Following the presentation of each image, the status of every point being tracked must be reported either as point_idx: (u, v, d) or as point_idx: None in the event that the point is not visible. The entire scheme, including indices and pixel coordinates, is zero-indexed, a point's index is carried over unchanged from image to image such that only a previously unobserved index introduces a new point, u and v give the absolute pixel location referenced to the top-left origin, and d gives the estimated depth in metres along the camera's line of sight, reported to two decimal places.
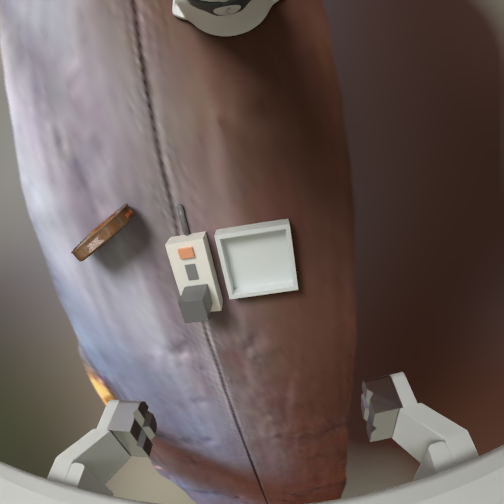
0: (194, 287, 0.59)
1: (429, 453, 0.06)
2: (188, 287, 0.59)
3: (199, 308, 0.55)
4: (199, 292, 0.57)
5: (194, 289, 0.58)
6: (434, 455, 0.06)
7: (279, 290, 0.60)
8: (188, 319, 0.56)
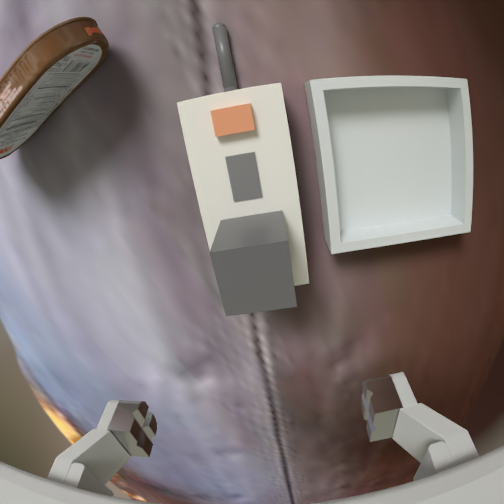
0: (249, 218, 0.22)
1: (429, 453, 0.06)
2: (232, 220, 0.23)
3: (274, 269, 0.19)
4: (269, 226, 0.20)
5: (251, 222, 0.22)
6: (434, 455, 0.06)
7: (439, 232, 0.24)
8: (237, 305, 0.20)
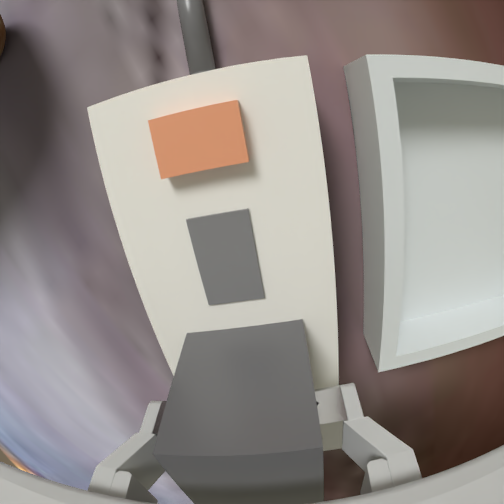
0: (238, 340, 0.11)
1: (367, 470, 0.07)
2: (206, 338, 0.12)
3: (288, 478, 0.07)
4: (279, 378, 0.09)
5: (242, 354, 0.10)
6: (372, 473, 0.06)
7: None
8: None
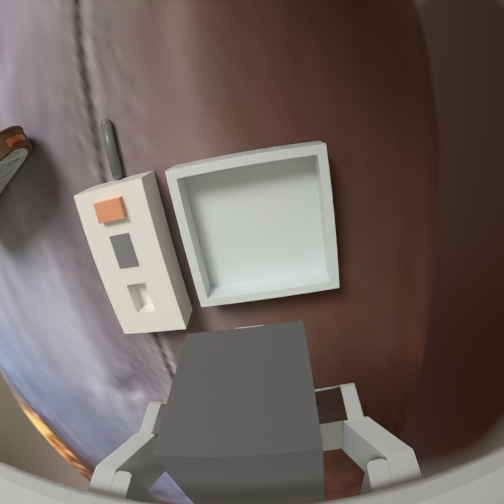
0: (239, 341, 0.11)
1: (367, 470, 0.07)
2: (207, 339, 0.12)
3: (289, 478, 0.07)
4: (279, 379, 0.09)
5: (242, 355, 0.10)
6: (372, 473, 0.06)
7: (302, 289, 0.29)
8: None
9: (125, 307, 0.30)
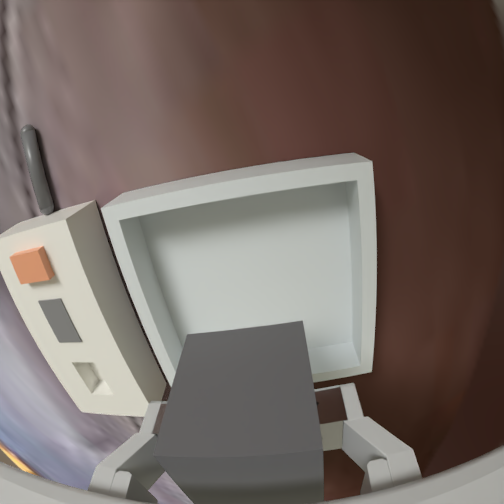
0: (239, 341, 0.11)
1: (368, 470, 0.07)
2: (207, 340, 0.12)
3: (289, 479, 0.07)
4: (279, 379, 0.09)
5: (242, 355, 0.10)
6: (372, 473, 0.06)
7: (318, 377, 0.19)
8: None
9: (75, 385, 0.20)
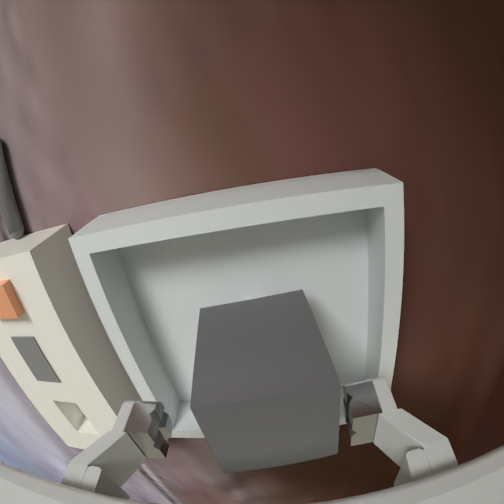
0: (249, 309, 0.13)
1: (406, 460, 0.07)
2: (219, 311, 0.13)
3: (310, 421, 0.09)
4: (291, 334, 0.11)
5: (255, 319, 0.12)
6: (411, 462, 0.06)
7: None
8: (242, 463, 0.10)
9: (59, 422, 0.17)
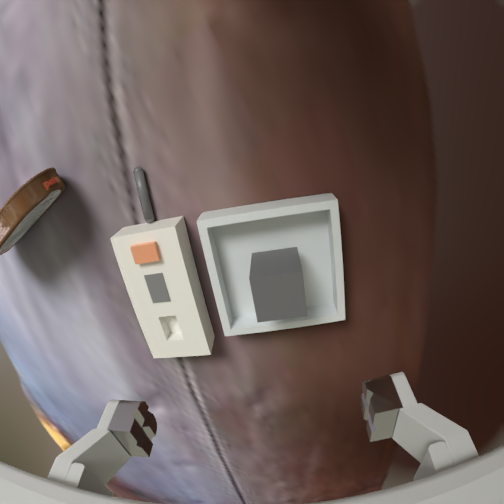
0: (273, 252, 0.31)
1: (429, 453, 0.06)
2: (260, 253, 0.31)
3: (293, 290, 0.27)
4: (288, 259, 0.29)
5: (275, 255, 0.30)
6: (434, 455, 0.06)
7: (313, 321, 0.33)
8: (266, 314, 0.28)
9: (156, 335, 0.34)
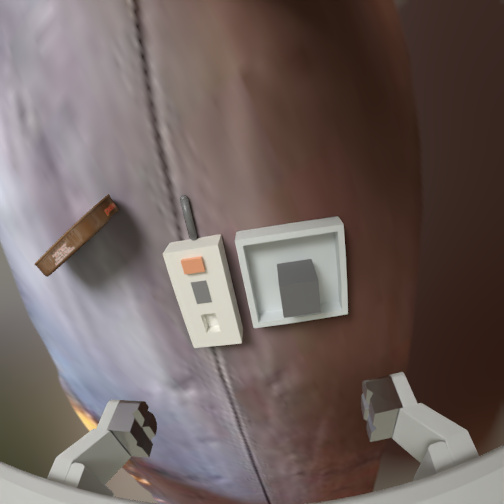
0: (293, 264, 0.40)
1: (429, 453, 0.06)
2: (283, 264, 0.40)
3: (311, 293, 0.36)
4: (306, 270, 0.38)
5: (295, 266, 0.39)
6: (434, 455, 0.06)
7: (323, 315, 0.43)
8: (290, 312, 0.37)
9: (197, 329, 0.44)
